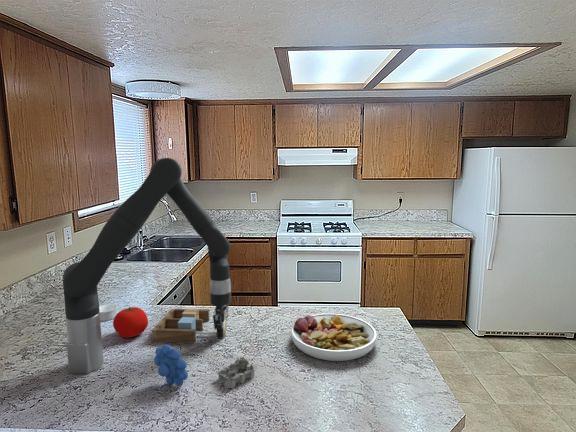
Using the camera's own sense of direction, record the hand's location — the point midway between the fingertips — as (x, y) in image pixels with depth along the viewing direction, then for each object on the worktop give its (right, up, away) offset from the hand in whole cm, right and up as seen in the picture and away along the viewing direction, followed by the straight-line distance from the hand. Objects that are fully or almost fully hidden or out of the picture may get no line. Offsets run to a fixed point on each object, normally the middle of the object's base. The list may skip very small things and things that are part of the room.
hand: (221, 334), depth 140 cm
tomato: (-34, -1, +2) cm, 34 cm away
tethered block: (-7, -1, +1) cm, 7 cm away
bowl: (+41, -2, -5) cm, 41 cm away
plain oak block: (-14, 0, +10) cm, 17 cm away
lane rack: (-15, 0, +6) cm, 16 cm away
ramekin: (-51, +1, +18) cm, 54 cm away
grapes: (-10, -6, -30) cm, 33 cm away
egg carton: (+9, -5, -26) cm, 28 cm away
